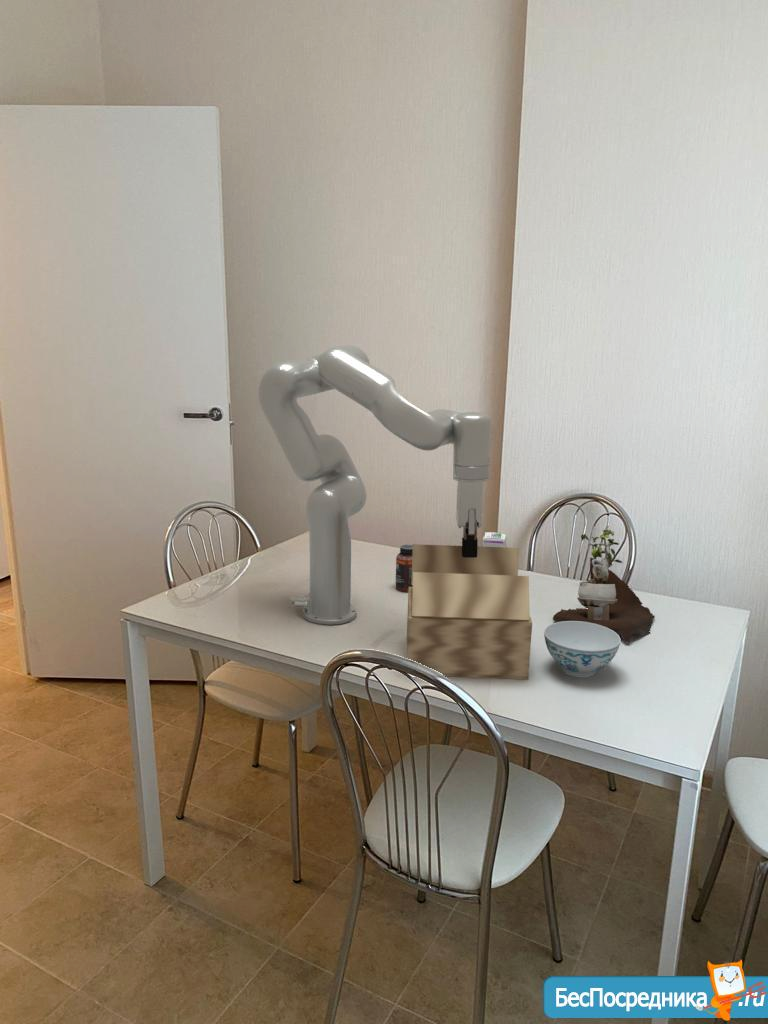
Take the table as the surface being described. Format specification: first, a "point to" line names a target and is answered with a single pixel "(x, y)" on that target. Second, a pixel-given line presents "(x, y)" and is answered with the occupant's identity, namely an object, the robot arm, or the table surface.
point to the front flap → (470, 596)
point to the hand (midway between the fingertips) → (469, 556)
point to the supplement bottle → (404, 568)
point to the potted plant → (608, 597)
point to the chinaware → (581, 646)
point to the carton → (470, 645)
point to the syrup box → (494, 539)
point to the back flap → (464, 560)
